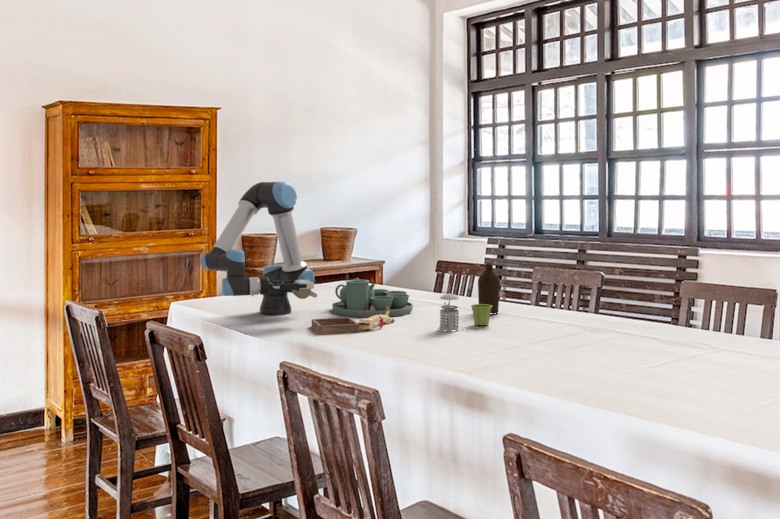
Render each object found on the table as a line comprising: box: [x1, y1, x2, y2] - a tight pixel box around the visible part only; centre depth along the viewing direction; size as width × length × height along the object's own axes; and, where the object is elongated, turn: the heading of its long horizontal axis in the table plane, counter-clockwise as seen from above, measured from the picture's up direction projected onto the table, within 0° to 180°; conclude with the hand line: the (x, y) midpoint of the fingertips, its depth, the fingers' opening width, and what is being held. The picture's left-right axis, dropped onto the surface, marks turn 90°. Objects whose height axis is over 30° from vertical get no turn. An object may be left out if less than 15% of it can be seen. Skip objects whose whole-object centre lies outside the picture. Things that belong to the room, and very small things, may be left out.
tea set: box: [331, 277, 414, 318], centre depth 339 cm, size 40×40×16 cm
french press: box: [437, 270, 461, 332], centre depth 290 cm, size 10×12×25 cm
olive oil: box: [477, 261, 501, 313], centre depth 333 cm, size 11×11×25 cm
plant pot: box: [470, 303, 492, 326], centre depth 302 cm, size 9×9×9 cm
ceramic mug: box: [292, 280, 318, 300], centre depth 300 cm, size 11×8×8 cm
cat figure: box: [357, 306, 396, 331], centre depth 298 cm, size 10×9×25 cm
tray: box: [311, 316, 361, 335], centre depth 291 cm, size 17×17×3 cm
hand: (311, 284), depth 300 cm, fingers closed on ceramic mug, 8 cm apart
